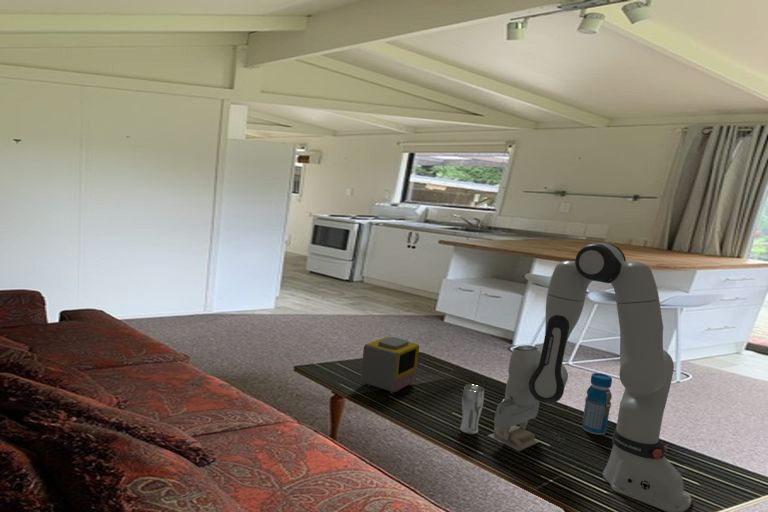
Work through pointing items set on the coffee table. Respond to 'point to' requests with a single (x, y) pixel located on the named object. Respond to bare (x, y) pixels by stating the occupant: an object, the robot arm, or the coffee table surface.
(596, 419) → the beverage bottle
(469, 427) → the beer glass
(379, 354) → the alarm clock
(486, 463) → the coffee table surface
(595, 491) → the coffee table surface
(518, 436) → the birch lid
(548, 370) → the robot arm
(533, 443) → the grey mat
